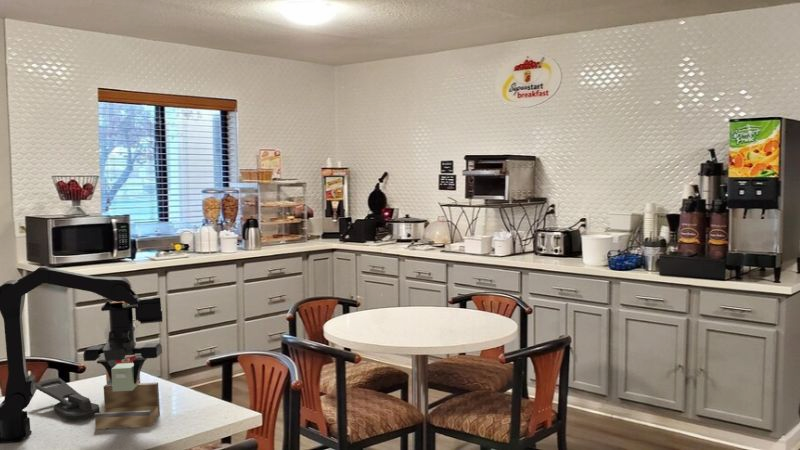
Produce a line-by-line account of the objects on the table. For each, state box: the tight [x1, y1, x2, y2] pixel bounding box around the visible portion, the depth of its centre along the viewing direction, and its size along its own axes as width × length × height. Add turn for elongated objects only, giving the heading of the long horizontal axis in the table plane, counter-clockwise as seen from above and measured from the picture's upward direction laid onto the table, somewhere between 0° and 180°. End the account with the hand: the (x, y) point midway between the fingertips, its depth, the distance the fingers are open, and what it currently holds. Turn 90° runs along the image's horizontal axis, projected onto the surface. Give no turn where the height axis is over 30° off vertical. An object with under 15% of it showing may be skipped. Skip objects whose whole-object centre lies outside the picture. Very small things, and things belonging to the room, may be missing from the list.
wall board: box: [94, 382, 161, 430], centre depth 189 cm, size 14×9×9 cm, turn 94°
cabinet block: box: [111, 363, 138, 391], centre depth 187 cm, size 5×6×6 cm
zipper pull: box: [34, 377, 101, 423], centre depth 200 cm, size 9×7×25 cm
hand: (125, 383), depth 188 cm, fingers closed on cabinet block, 5 cm apart
